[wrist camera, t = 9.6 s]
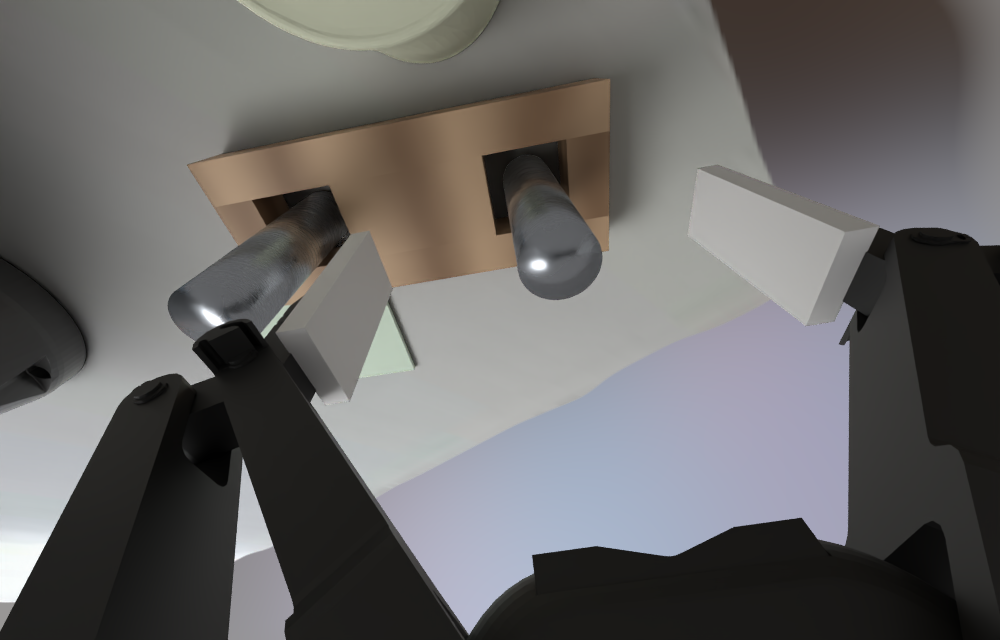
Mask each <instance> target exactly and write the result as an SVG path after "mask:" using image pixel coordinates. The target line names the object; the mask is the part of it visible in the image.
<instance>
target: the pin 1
mask: <svg viewBox="0 0 1000 640" xmlns="http://www.w3.org/2000/svg"><path fill="white" fill-rule="evenodd" d="M347 231H348V228H347V226H346V223H345V221H344V219H343V217H342V214H341V212H340V210H339V207H338V205H337V203H336V200H335V198H334V196H333V194H332V193H330V192H325V191H318V192H314V193H312V194H310V195H309V196H308V197H306V198H305V199H303V200H302V201H301V202H299V203H298V204H296V205H295V206H294V207H292V208H291V209H289V210H288V211H287V212H285V213H284V214H282V215H281V216H280V217H278V218H277V219H275V220H274V221H273V222H271V223H270V224H268V225H267V226H266V227H264V228H263V229H261V230H260V231H259V232H257V233H256V234H254V235H253V236H252V237H250V238H249V239H247V240H246V241H245V242H243V243H242V244H240V245H239V246H238V247H236V248H235V249H233V250H232V251H231V252H229V253H228V254H226V255H225V256H224V257H222V258H221V259H219V260H218V261H217V262H215V263H214V264H212V265H211V266H210V267H208V268H207V269H206V270H204V271H203V272H201V273H200V274H199V275H197V276H196V277H194V278H193V279H192V280H190V281H189V282H187V283H186V284H185V285H183V286H182V287H180V288H179V289H178V290H176V291H175V292H174V293H173V294H172V295H171V296H170V298H169V301H168V310H169V314H170V316H171V318H172V320H173V321H174V323H175V324H176V325H177V327H178V328H179V329H180V330H181V331H182V332H184V333H185V334H186V335H187V336H189V337H190V338H192V339H193V340H195V341H197V339H198V338H199V337H201V336H202V335H203V334H205V333H206V332H208V331H209V330H211V329H213V328H215V327H217V326H219V325H221V324H224V323H226V322H229V321H233V320H237V319H249V320H251V321H252V322H253V324H254V325H255V326H256V328H257V329H258V331H259V332H260V333H261V332H262V331H263V330H264V329H265V328H266V327H267V325H268V324H269V323H270V322H271V321H272V319H273V318H274V317H275V316H276V315H277V314H278V312H279V311H280V310H281V309H282V308H283V307H284V305H285V304H286V303H287V302H288V301H289V299H290V298H291V297H292V296H293V295H294V294H295V292H296V291H297V290H298V289H299V288H300V286H301V285H302V284H303V283H304V282H305V281H306V279H307V278H308V277H309V276H310V275H311V273H312V272H313V271H314V270H315V269H316V268H317V266H318V265H319V264H320V263H321V262H322V261H323V259H324V258H325V257H326V256H327V255H328V253H329V252H330V251H331V250H332V249H333V248H334V246H335V245H336V244H337V243H338V242H339V240H340V239H341V238H342V237H343V236H344V235H345V233H346V232H347Z"/></svg>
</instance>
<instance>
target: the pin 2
mask: <svg viewBox="0 0 1000 640" xmlns="http://www.w3.org/2000/svg"><path fill="white" fill-rule="evenodd" d="M503 186H504V192H505V198H506V204H507V209H508V215H509V221H510V227H511V233H512V238H513V244H514V250H515V256H516V262H517V267H518V273H519V276H520V279H521V281H522V283H523V284H524V286H525V287H526V288H527V289H528V290H529V291H530V292H532V293H533V294H535V295H536V296H538V297H541V298H544V299H550V300H560V299H566V298H570V297H573V296H575V295H577V294H579V293H581V292H582V291H584V290H585V289H586V288H587V287H588V286H590V285H591V283H592V282H593V281H594V280H595V278H596V277H597V275H598V273H599V271H600V268H601V264H602V250H601V246H600V244H599V241H598V240H597V238H596V237H595V235H594V234H593V232H592V231H591V229H590V228H589V226H588V225H587V223H586V222H585V220H584V219H583V218H582V216H581V215H580V213H579V212H578V210H577V209H576V207H575V206H574V204H573V203H572V201H571V200H570V199H569V197H568V196H567V194H566V193H565V191H564V190H563V188H562V187H561V185H560V184H559V182H558V181H557V180H556V178H555V177H554V175H553V174H552V172H551V171H550V169H549V168H548V166H547V165H546V164H545V162H544V161H543V160H542V159H540V158H539V157H537V156H534V155H528V154H526V155H521V156H518V157H516V158H515V159H513V160H512V161H511V162H510V163H509V164H508V166H507V167H506V169H505V172H504V175H503Z"/></svg>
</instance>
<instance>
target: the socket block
mask: <svg viewBox="0 0 1000 640" xmlns="http://www.w3.org/2000/svg"><path fill="white" fill-rule="evenodd" d="M555 141H557V143H558V158H559V173H560V185H561V187H562V188H563V190H564V191H565V193H566V194H567V196H568V197H569V199H570V200H571V201H572V203H573V204H574V206H575V207H576V209H577V210H578V212H579V213H580V215H581V216H582V218H583V219H584V220H585V222H586V223H587V225H588V226H589V228H590V229H591V231H592V232H593V234H594V235H595V237H596V238H597V240H598V241H599V244H600V246H601V250H602V252H604V251H609V162H610V79H599V78H593V79H588V80H583V81H579V82H574V83H569V84H564V85H559V86H554V87H549V88H544V89H539V90H534V91H529V92H525V93H520V94H515V95H510V96H505V97H500V98H495V99H490V100H485V101H480V102H475V103H471V104H466V105H461V106H456V107H451V108H446V109H441V110H436V111H431V112H426V113H421V114H416V115H412V116H407V117H402V118H397V119H392V120H387V121H382V122H377V123H372V124H367V125H362V126H358V127H353V128H348V129H343V130H338V131H333V132H328V133H323V134H318V135H313V136H308V137H304V138H299V139H294V140H289V141H284V142H279V143H274V144H269V145H264V146H259V147H254V148H249V149H245V150H240V151H235V152H230V153H225V154H221V155H217V156H214V157H211V158H207V159H204V160H201V161H198V162H194V163H191V164H188V165H187V166H188V168H189V169H190V171H191V172H192V174H193V176H194V177H195V179H196V180H197V182H198V183H199V185H200V186H201V188H202V190H203V191H204V193H205V194H206V196H207V197H208V199H209V201H210V202H211V204H212V205H213V207H214V208H215V210H216V211H217V213H218V215H219V216H220V218H221V219H222V221H223V222H224V224H225V226H226V227H227V229H228V230H229V232H230V233H231V235H232V236H233V238H234V240H235V241H236V243H237V244H238V246H239V245H240V244H242V243H243V242H245V241H246V240H247V239H249V238H250V237H252V236H253V235H254V234H256V233H257V232H259V231H260V230H261V229H263V228H264V227H266V226H267V225H268V224H270V223H271V222H273V221H274V220H275V219H277V218H278V217H280V216H281V215H282V214H284V213H285V212H287V211H288V210H289V207H288V205H287V203H286V201H285V199H284V197H283V195H282V194H286V193H291V192H296V191H301V190H306V189H311V188H317V187H322V186H327V185H329V187H330V189H331V191H332V194H333V196H334V198H335V200H336V203H337V205H338V207H339V210H340V212H341V214H342V217H343V219H344V221H345V223H346V226H347V228H348V230H349V233H350V235H351V234H354V233H360V232H365V231H370V233H371V236H372V238H373V241H374V243H375V246H376V248H377V251H378V253H379V256H380V258H381V261H382V263H383V266H384V268H385V271H386V273H387V276H388V278H389V281H390V283H391V286H392V287H398V286H404V285H410V284H416V283H422V282H427V281H433V280H439V279H445V278H451V277H457V276H463V275H469V274H474V273H480V272H486V271H492V270H498V269H504V268H510V267H516V266H517V262H516V256H515V250H514V244H513V238H512V233H511V227H510V221H509V216H508V217H502V218H497V219H495V215H494V210H493V204H492V199H491V193H490V188H489V182H488V177H487V171H486V166H485V160H484V155H488V154H493V153H498V152H503V151H508V150H514V149H519V148H524V147H529V146H534V145H540V144H545V143H550V142H555ZM341 247H342V246H341ZM341 247H336V248H333V249H332V250H331V251H330V252H329V253H328V255H327V256H326V257H325V258H324V259H323V261H322V262H321V263H320V264H319V265H318V266H317V268H316V269H315V270H314V271H313V272H312V273H311V275H310V276H309V277H308V278H307V279H306V281H305V282H304V283H303V284H302V285H301V286H300V288H299V289H298V290H297V291H296V292H295V294H294V295H293V296H292V297H291V298H290V299H289V301H288V302H287V303H286V304H285V305H284V306H286V305H292V304H293V303H294V302H296V301H297V300H298V299H300V298H301V297H303V296H304V295H305V294H306V292H307V291H308V290H309V288H310V287H311V286H312V284H313V283H314V282H315V281H316V279H317V278H318V277H319V275H320V274H321V273H322V271H323V270H324V269H325V268H326V266H327V265H328V264H329V262H330V261H331V260H332V258H333V257H334V256H335V255H336V253H337V252H338V251H339V249H340V248H341Z"/></svg>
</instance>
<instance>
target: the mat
mask: <svg viewBox="0 0 1000 640" xmlns="http://www.w3.org/2000/svg"><path fill="white" fill-rule="evenodd" d="M289 307H290V305H286V306H284V307H283V308H282V309H281V310H280V311H279V312H278V314H277V315H276V316H275V317H274V318H273V319H272V321H271V322H270V323H269V324H268V325H267V327H266V328H265V329H264V330H263V331H262V332H261V335H262V336H263V338H265V337H266V336H267V334H268V333H269V332H270V330H271V329H272V328H273V327H274V325H276V324H277V322H278V320H279V319H280V318H281V317H283V314H284V313H285V312H286V310H287V309H288V308H289ZM409 370H415V365H414V362H413V360H412V358H411V355H410V353H409V351H408V348H407V346H406V343H405V341H404V339H403V336H402V334H401V331H400V329H399V327H398V324H397V322H396V319H395V317H394V315H393V312H392V310H391V308H390V305H389V303H388V302H387V305H386V308H385V310H384V313H383V316H382V318H381V321H380V323H379V326H378V329H377V331H376V334H375V337H374V339H373V342H372V344H371V347H370V350H369V352H368V355H367V358H366V360H365V363H364V365H363V368H362V371H361V373H360V376H359V378H364V377H370V376H377V375H383V374H390V373H396V372H403V371H409Z"/></svg>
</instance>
